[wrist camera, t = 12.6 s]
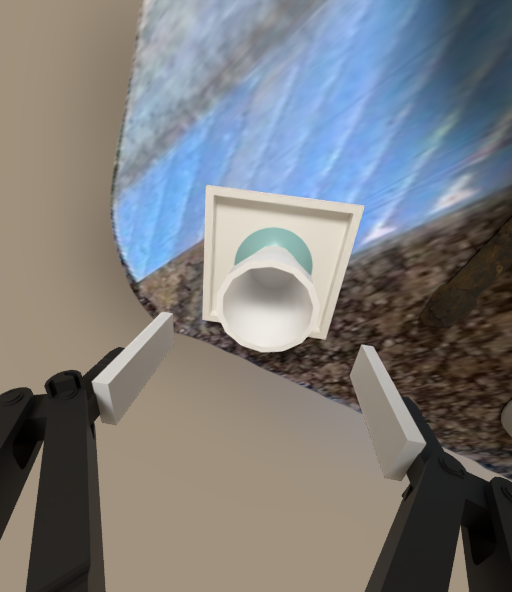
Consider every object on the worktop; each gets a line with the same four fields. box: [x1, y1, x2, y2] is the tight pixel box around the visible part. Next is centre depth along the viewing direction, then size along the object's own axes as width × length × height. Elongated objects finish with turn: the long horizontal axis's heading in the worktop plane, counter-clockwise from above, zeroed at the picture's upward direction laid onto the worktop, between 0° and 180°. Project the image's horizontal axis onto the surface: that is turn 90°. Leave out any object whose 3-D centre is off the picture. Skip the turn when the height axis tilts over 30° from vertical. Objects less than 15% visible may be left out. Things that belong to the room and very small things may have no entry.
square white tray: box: [203, 185, 365, 339], centre depth 33 cm, size 19×19×2 cm
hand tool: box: [420, 217, 512, 328], centre depth 29 cm, size 19×4×5 cm, turn 150°
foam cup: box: [217, 245, 320, 352], centre depth 27 cm, size 10×9×13 cm
